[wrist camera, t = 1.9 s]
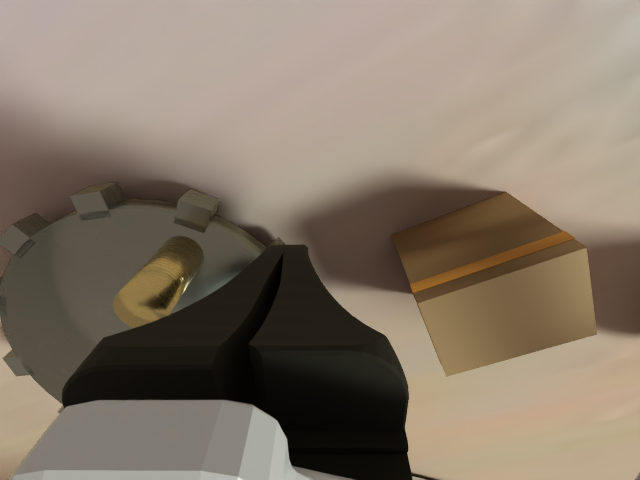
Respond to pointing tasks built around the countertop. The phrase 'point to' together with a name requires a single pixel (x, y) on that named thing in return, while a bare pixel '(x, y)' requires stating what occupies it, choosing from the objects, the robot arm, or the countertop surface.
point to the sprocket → (109, 274)
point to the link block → (496, 283)
